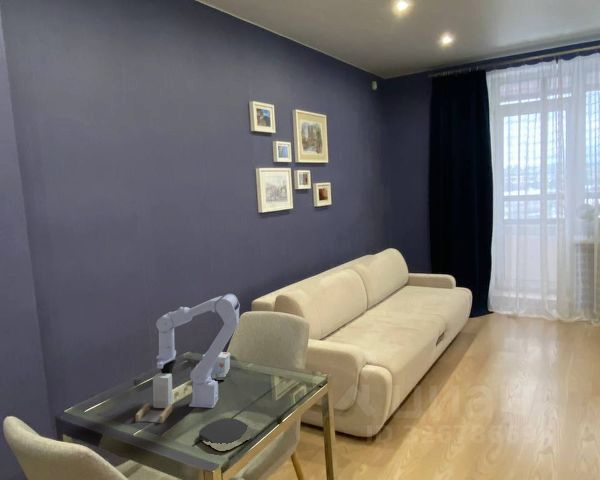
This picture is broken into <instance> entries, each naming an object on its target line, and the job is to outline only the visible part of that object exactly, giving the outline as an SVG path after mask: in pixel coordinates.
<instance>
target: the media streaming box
mask: <svg viewBox="0 0 600 480" xmlns="http://www.w3.org/2000/svg"><path fill="white" fill-rule="evenodd" d="M248 426H249V425H248V424H247V423H246V422H244V421H241V420H239V419H237V418H231V417H230V418H229V417H227V418H226V417H225V418H219V419H217V420H213V421H211V422H210V423H207V424H206V425H204V426H202V427H201V428H200V430H199V431H198V439H199V441H200V440H202V441H205V442H209V441H210V442H211V443H217V444H218V443H220V444H222V443H226V444H228V443H232V442H234V441H236V440H238V439H240V438H241V437H242V435H243V434H244V433H245V432H246V430H247V427H248ZM202 441H201V442H202Z"/></svg>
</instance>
